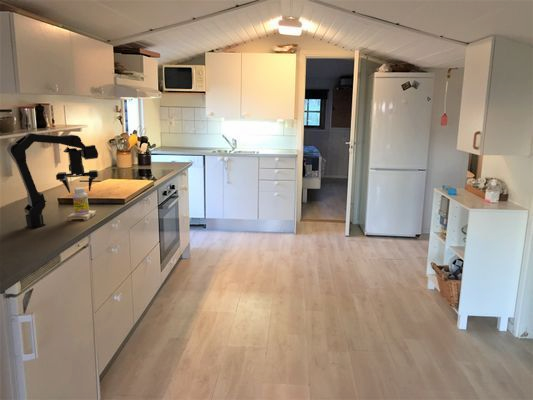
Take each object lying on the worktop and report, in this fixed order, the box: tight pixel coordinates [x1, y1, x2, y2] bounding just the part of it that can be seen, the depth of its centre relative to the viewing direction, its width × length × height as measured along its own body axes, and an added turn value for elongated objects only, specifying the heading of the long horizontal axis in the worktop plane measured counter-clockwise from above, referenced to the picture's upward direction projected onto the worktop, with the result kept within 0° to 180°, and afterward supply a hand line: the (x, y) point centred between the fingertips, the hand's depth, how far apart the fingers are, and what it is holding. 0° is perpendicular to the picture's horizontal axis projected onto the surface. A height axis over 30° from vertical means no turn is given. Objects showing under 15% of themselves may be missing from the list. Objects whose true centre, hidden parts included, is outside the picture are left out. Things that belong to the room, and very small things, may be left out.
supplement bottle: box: [72, 186, 90, 215], centre depth 218 cm, size 7×7×13 cm
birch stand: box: [66, 209, 98, 222], centre depth 220 cm, size 12×10×2 cm
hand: (79, 192), depth 217 cm, fingers open, 9 cm apart
